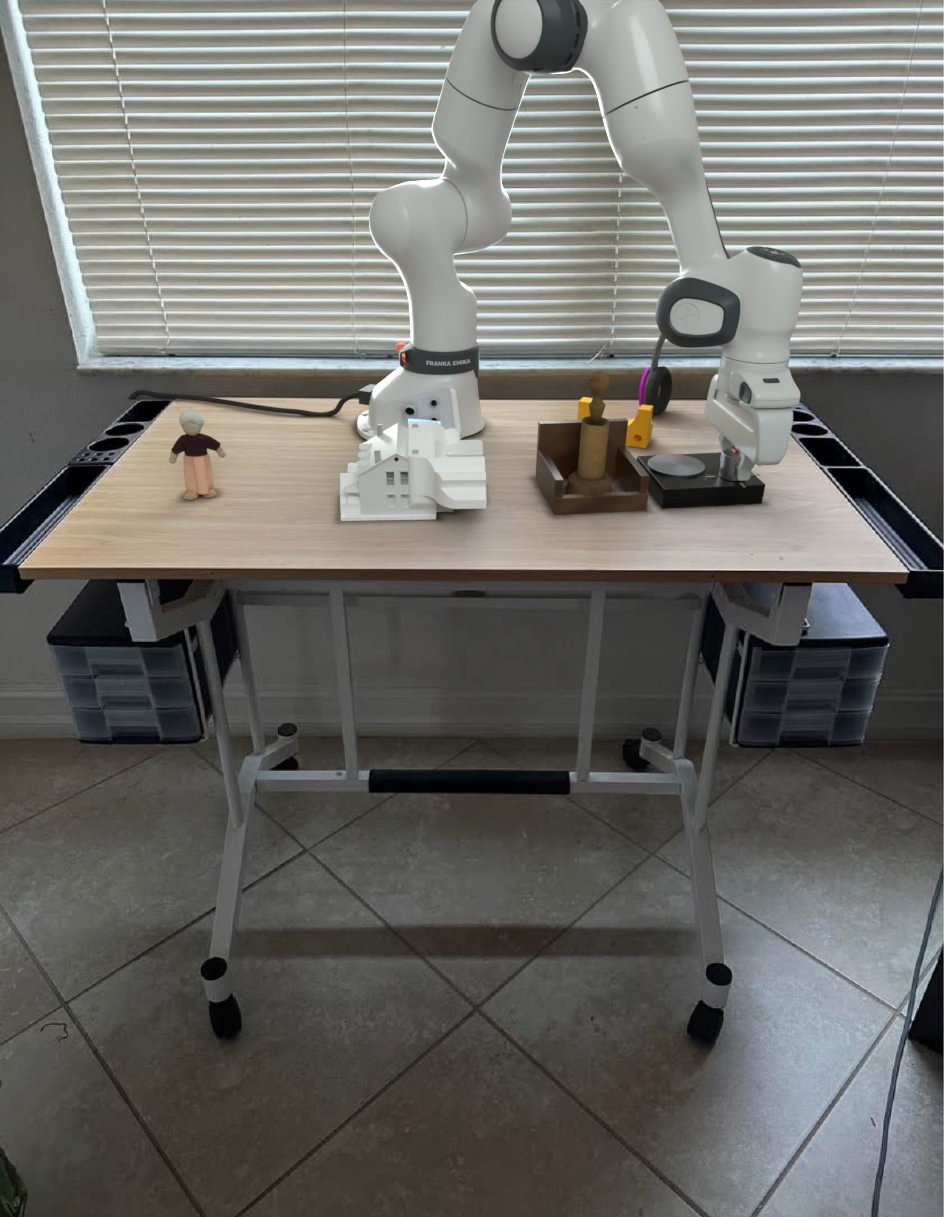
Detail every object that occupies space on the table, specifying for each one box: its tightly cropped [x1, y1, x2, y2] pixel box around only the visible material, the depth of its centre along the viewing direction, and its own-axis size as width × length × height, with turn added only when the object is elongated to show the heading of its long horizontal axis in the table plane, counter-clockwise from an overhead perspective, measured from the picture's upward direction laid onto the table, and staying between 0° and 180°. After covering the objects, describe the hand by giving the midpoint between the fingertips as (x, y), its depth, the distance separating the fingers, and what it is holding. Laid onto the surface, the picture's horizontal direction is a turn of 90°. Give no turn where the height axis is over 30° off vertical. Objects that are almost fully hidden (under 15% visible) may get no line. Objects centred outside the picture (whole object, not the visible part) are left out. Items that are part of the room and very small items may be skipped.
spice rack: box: [535, 417, 650, 516], centre depth 122 cm, size 13×13×9 cm
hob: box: [636, 452, 766, 510], centre depth 125 cm, size 16×14×3 cm
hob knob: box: [719, 446, 742, 481], centre depth 122 cm, size 4×4×4 cm
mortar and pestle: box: [566, 370, 613, 495], centre depth 120 cm, size 7×6×18 cm
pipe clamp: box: [577, 396, 654, 449], centre depth 143 cm, size 12×4×6 cm, turn 68°
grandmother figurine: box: [168, 409, 227, 501], centre depth 120 cm, size 8×4×13 cm, turn 117°
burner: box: [648, 453, 705, 478], centre depth 126 cm, size 8×8×1 cm
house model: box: [339, 420, 488, 522], centre depth 117 cm, size 19×20×10 cm
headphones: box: [638, 332, 673, 417], centre depth 147 cm, size 21×9×20 cm, turn 58°
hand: (734, 471), depth 122 cm, fingers closed on hob knob, 4 cm apart
